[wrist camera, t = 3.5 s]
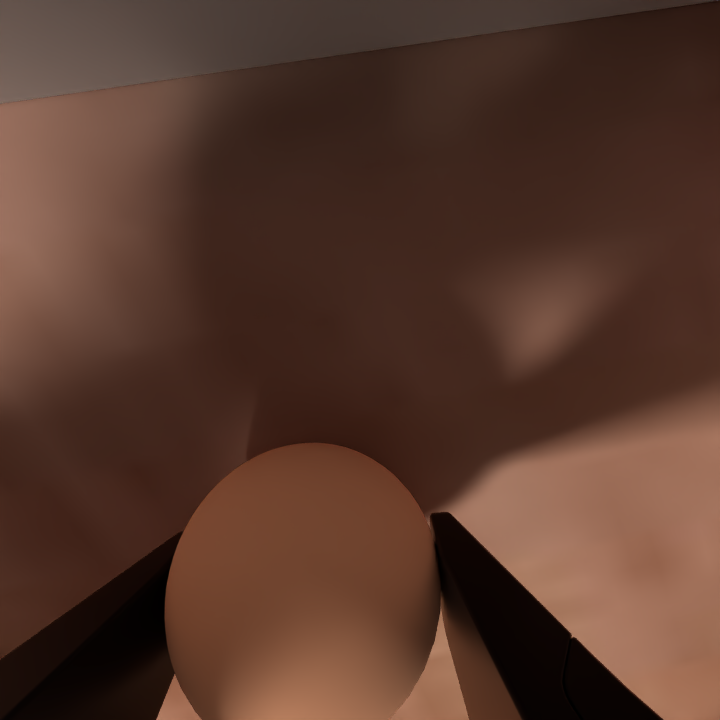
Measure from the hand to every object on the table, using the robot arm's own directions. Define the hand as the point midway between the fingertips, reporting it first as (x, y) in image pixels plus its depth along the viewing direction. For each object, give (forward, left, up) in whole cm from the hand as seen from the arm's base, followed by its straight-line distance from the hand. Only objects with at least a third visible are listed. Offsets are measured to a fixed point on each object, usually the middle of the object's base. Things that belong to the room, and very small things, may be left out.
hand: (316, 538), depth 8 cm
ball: (0, 0, +1) cm, 1 cm away
